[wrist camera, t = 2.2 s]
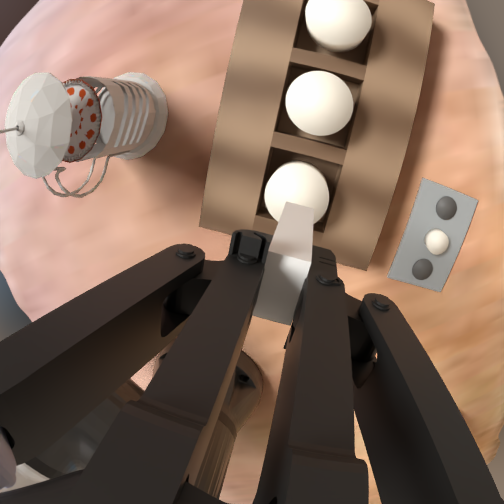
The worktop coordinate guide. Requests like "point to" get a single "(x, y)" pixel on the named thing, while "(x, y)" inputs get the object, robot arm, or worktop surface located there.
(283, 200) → the button
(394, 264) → the card
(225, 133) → the board
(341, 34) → the button
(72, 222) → the worktop surface
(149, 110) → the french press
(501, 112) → the worktop surface
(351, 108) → the button
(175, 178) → the worktop surface
